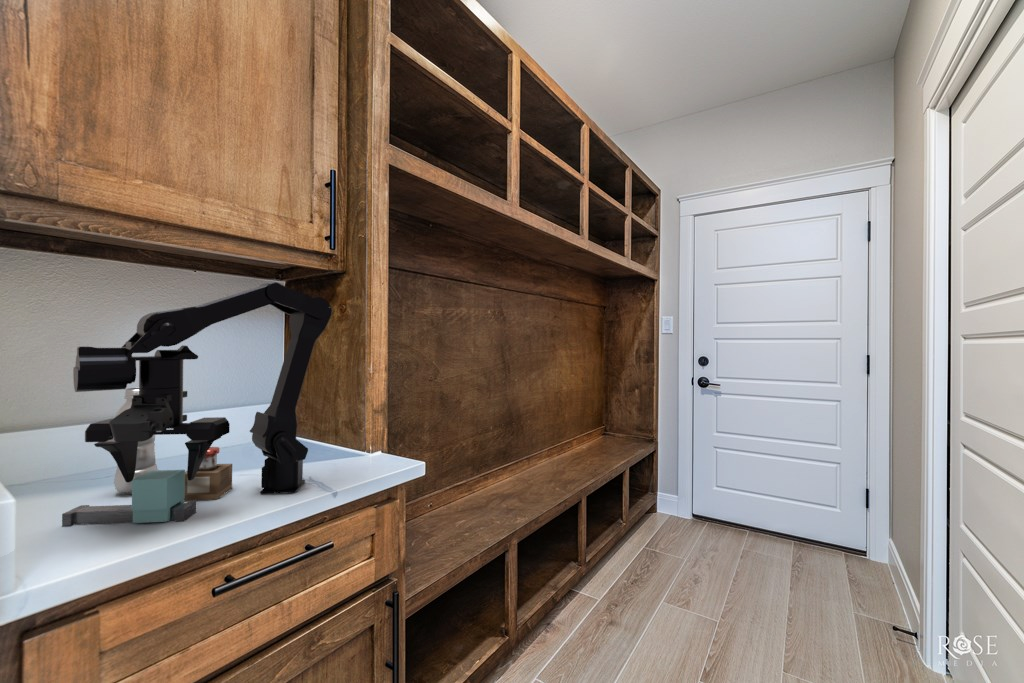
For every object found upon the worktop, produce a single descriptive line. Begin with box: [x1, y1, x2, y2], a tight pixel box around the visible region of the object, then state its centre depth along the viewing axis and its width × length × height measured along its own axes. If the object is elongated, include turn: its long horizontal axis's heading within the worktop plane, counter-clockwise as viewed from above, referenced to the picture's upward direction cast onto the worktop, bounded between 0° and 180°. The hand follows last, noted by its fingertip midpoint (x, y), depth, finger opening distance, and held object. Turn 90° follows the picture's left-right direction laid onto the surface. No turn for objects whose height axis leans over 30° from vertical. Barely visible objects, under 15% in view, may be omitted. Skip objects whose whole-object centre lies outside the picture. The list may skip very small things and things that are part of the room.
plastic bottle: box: [113, 387, 159, 494], centre depth 85 cm, size 6×7×20 cm
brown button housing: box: [184, 463, 233, 502], centre depth 84 cm, size 6×6×5 cm
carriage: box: [131, 469, 186, 524], centre depth 73 cm, size 5×5×7 cm
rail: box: [61, 500, 197, 528], centre depth 72 cm, size 17×4×2 cm, turn 99°
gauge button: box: [199, 446, 220, 471], centre depth 84 cm, size 4×4×6 cm
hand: (160, 480), depth 73 cm, fingers open, 9 cm apart
